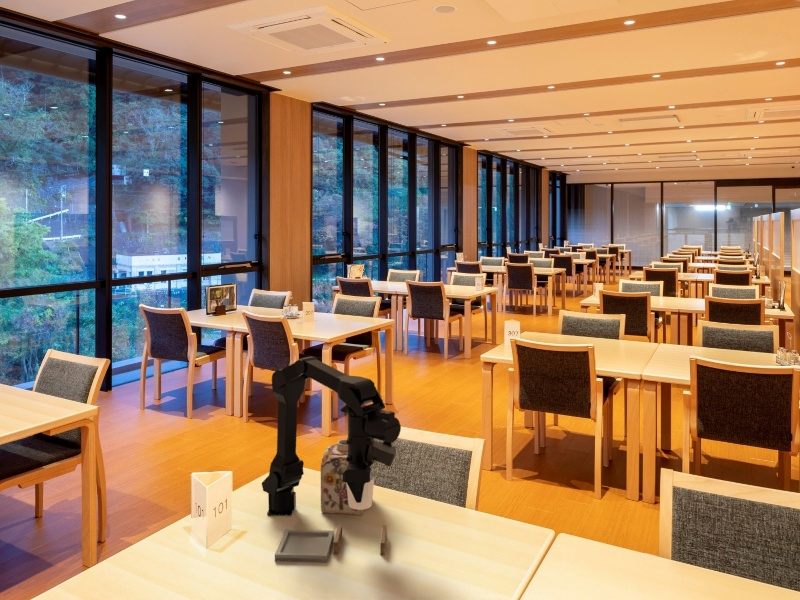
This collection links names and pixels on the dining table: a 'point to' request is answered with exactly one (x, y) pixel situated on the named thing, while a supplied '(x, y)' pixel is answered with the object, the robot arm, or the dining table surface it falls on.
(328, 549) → the tray
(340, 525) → the wooden pieces
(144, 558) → the dining table surface
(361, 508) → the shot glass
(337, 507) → the decorative jar
